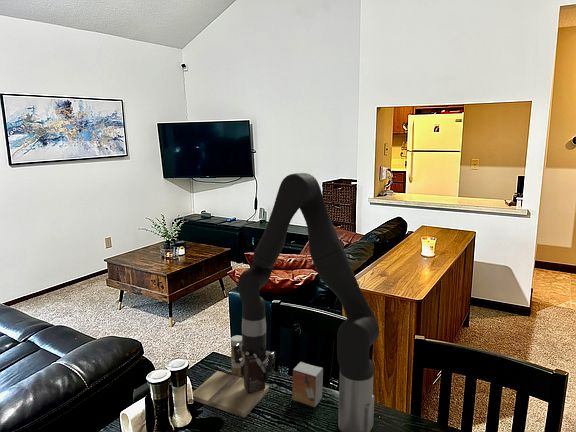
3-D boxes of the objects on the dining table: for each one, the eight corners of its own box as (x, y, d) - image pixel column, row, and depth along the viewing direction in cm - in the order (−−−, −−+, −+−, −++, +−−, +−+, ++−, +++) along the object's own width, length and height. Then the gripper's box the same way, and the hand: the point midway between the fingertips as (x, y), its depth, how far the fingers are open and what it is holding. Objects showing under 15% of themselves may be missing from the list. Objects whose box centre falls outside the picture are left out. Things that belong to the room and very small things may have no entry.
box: (248, 394, 130) (248, 359, 128) (243, 386, 134) (242, 352, 132) (266, 389, 133) (266, 354, 131) (261, 382, 137) (260, 348, 135)
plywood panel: (269, 389, 136) (269, 385, 135) (245, 417, 122) (244, 412, 122) (217, 374, 144) (217, 370, 144) (189, 399, 131) (189, 394, 131)
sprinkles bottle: (233, 378, 142) (232, 342, 139) (229, 371, 146) (228, 336, 143) (246, 375, 144) (245, 339, 141) (242, 369, 148) (241, 333, 145)
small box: (291, 400, 131) (292, 369, 129) (299, 390, 135) (300, 361, 133) (315, 408, 127) (315, 376, 125) (322, 398, 132) (323, 367, 130)
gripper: (280, 329, 130) (280, 378, 133) (240, 320, 136) (241, 367, 139) (268, 340, 124) (269, 390, 127) (227, 330, 130) (229, 379, 133)
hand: (254, 378), depth 133 cm, fingers closed on box, 6 cm apart
